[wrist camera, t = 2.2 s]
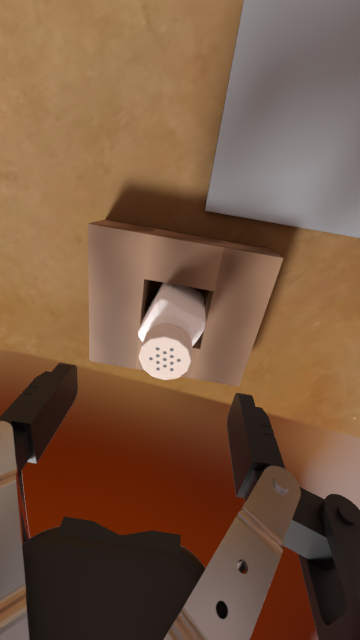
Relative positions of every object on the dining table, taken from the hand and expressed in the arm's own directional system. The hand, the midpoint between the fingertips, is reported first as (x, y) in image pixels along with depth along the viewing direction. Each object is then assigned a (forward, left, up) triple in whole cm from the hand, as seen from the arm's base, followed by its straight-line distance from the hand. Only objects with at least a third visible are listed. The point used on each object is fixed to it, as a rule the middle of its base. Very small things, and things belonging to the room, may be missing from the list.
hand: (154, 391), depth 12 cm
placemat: (-9, -14, -12) cm, 21 cm away
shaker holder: (0, 0, -12) cm, 12 cm away
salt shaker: (0, 0, -12) cm, 12 cm away
